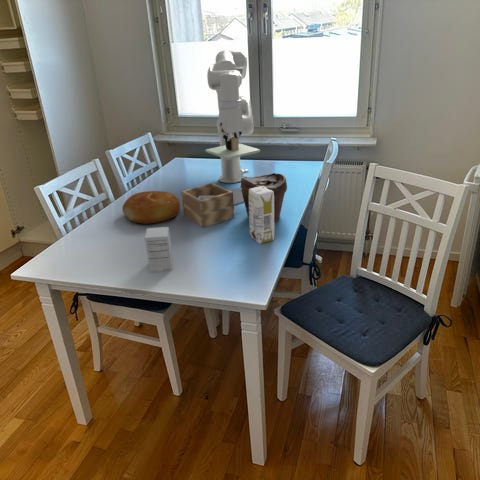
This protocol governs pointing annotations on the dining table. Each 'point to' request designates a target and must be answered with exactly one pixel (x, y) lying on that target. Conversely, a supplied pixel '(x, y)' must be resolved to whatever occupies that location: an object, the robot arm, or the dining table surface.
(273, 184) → the brown plant pot
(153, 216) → the bread
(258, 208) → the juice carton
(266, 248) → the dining table surface
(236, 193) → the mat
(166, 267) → the supplement box
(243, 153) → the lid
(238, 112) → the robot arm
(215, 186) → the crate
